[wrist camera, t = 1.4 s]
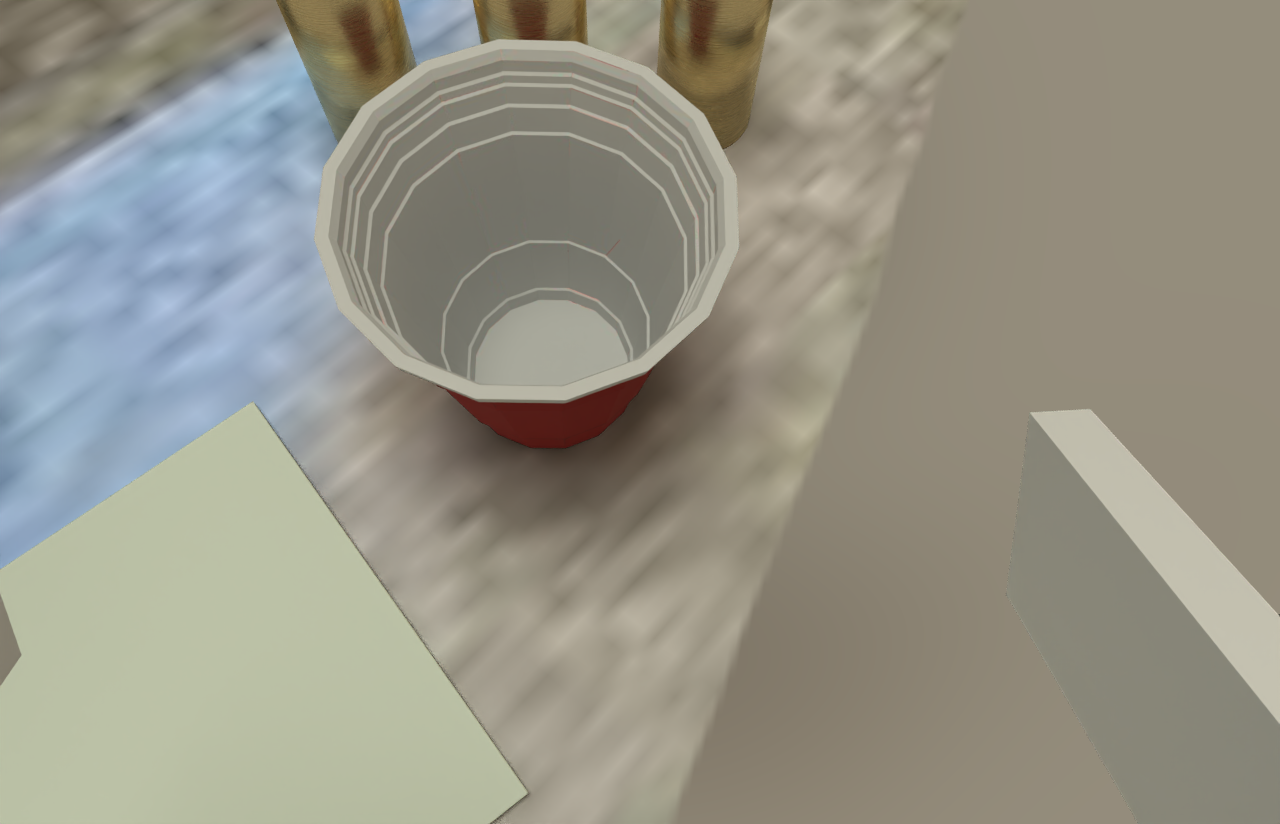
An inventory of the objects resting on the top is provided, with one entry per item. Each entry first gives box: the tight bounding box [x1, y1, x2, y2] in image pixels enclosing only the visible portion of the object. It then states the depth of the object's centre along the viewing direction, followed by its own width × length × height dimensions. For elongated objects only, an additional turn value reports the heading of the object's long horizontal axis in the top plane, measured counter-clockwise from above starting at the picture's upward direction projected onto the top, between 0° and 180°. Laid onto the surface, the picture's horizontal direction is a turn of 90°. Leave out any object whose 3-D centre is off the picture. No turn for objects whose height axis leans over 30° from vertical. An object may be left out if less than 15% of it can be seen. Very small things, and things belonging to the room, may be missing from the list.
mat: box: [0, 402, 529, 824], centre depth 36 cm, size 16×16×1 cm
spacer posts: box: [276, 0, 773, 149], centre depth 38 cm, size 4×16×10 cm, turn 94°
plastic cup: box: [314, 39, 739, 448], centre depth 34 cm, size 11×11×12 cm
